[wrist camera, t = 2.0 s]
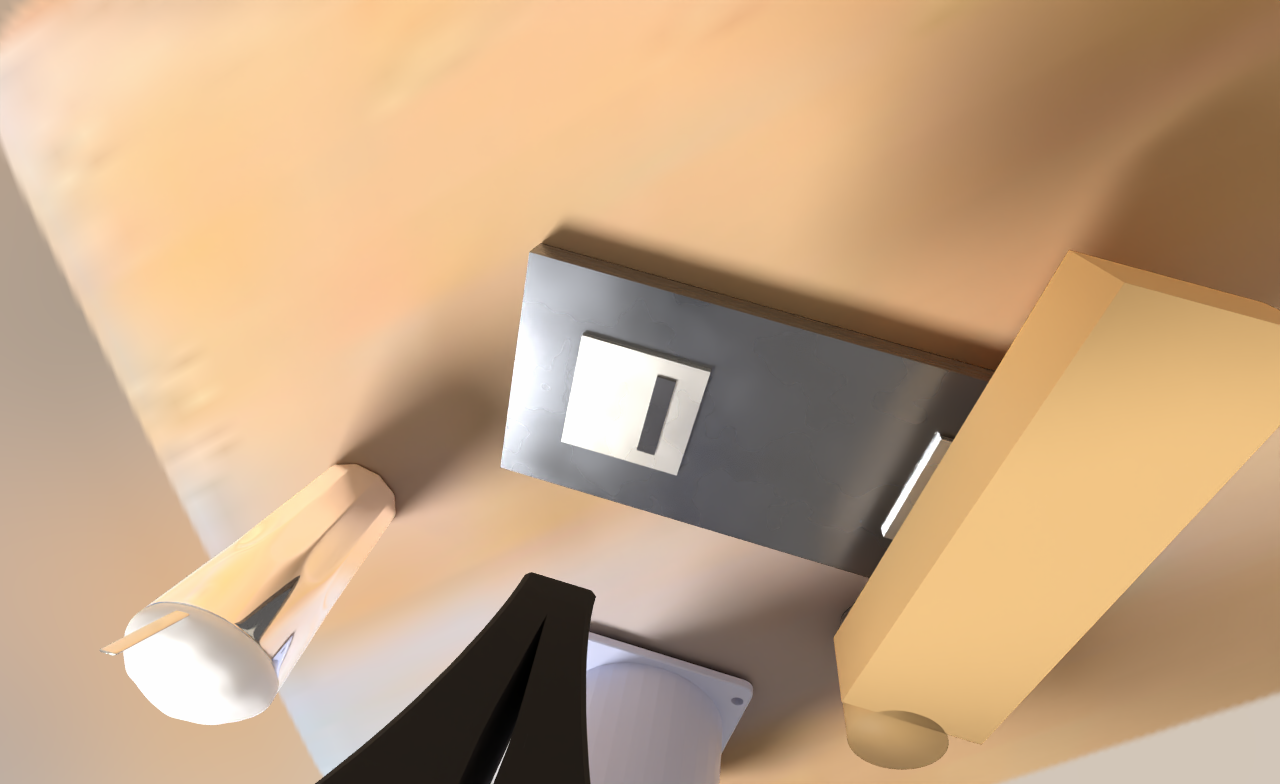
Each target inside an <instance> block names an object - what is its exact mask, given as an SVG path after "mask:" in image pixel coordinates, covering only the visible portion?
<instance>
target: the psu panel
mask: <svg viewBox="0 0 1280 784" xmlns="http://www.w3.org/2000/svg"><path fill="white" fill-rule="evenodd" d="M994 373H995V371H992V370H989V369H985V368H981V367H978V366H974V365H971V364H967V363H964V362H960V361H957V360H953V359H950V358H946V357H942V356H939V355H935V354H932V353H928V352H925V351H921V350H918V349H914V348H911V347H907V346H903V345H900V344H896V343H893V342H889V341H886V340H882V339H879V338H875V337H871V336H868V335H864V334H861V333H857V332H854V331H850V330H847V329H843V328H840V327H836V326H832V325H829V324H825V323H822V322H818V321H815V320H811V319H808V318H804V317H801V316H797V315H793V314H790V313H786V312H783V311H779V310H776V309H772V308H769V307H765V306H761V305H758V304H754V303H751V302H747V301H744V300H740V299H737V298H733V297H730V296H726V295H722V294H719V293H715V292H712V291H708V290H705V289H701V288H698V287H694V286H691V285H687V284H683V283H680V282H676V281H673V280H669V279H666V278H662V277H659V276H655V275H651V274H648V273H644V272H641V271H637V270H634V269H630V268H627V267H623V266H620V265H616V264H612V263H609V262H605V261H602V260H598V259H595V258H591V257H588V256H584V255H581V254H577V253H573V252H570V251H566V250H563V249H559V248H556V247H552V246H549V245H545V244H542V243H540V244H539V245H538V246H536V247H535V248H534V249H533V250H531V251H530V252H529V259H528V266H527V274H526V281H525V289H524V296H523V303H522V311H521V318H520V326H519V333H518V340H517V348H516V355H515V363H514V370H513V377H512V385H511V392H510V400H509V407H508V414H507V422H506V429H505V437H504V444H503V451H502V459H501V466H500V467H501V468H504V469H507V470H511V471H514V472H518V473H521V474H524V475H528V476H531V477H534V478H538V479H541V480H544V481H548V482H551V483H554V484H558V485H561V486H564V487H568V488H571V489H574V490H578V491H581V492H584V493H588V494H591V495H594V496H598V497H601V498H604V499H608V500H611V501H614V502H618V503H621V504H624V505H628V506H631V507H634V508H638V509H641V510H644V511H648V512H651V513H654V514H658V515H661V516H664V517H668V518H671V519H674V520H678V521H681V522H685V523H688V524H691V525H695V526H698V527H701V528H705V529H708V530H711V531H715V532H718V533H721V534H725V535H728V536H731V537H735V538H738V539H741V540H745V541H748V542H751V543H755V544H758V545H761V546H765V547H768V548H771V549H775V550H778V551H781V552H785V553H788V554H791V555H795V556H798V557H801V558H805V559H808V560H811V561H815V562H818V563H821V564H825V565H828V566H831V567H835V568H838V569H841V570H845V571H848V572H852V573H855V574H858V575H862V576H865V577H868V578H870V577H871V575H872V574H873V572H874V570H875V569H876V567H877V565H878V564H879V562H880V560H881V559H882V557H883V556H884V554H885V552H886V551H887V549H888V547H889V546H890V544H891V542H892V541H893V539H894V537H895V536H896V534H897V532H898V531H899V529H900V528H901V526H902V524H903V523H904V521H905V519H906V518H907V516H908V514H909V513H910V511H911V509H912V508H913V506H914V504H915V503H916V501H917V500H918V498H919V496H920V495H921V493H922V491H923V490H924V488H925V486H926V485H927V483H928V481H929V480H930V478H931V476H932V475H933V473H934V471H935V470H936V468H937V467H938V465H939V463H940V462H941V460H942V458H943V457H944V455H945V453H946V452H947V450H948V448H949V447H950V445H951V443H952V442H953V440H954V439H955V437H956V435H957V434H958V432H959V430H960V429H961V427H962V425H963V424H964V422H965V420H966V419H967V417H968V415H969V414H970V412H971V411H972V409H973V407H974V406H975V404H976V402H977V401H978V399H979V397H980V396H981V394H982V392H983V391H984V389H985V387H986V386H987V384H988V383H989V381H990V379H991V378H992V376H993V374H994Z"/></svg>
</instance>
